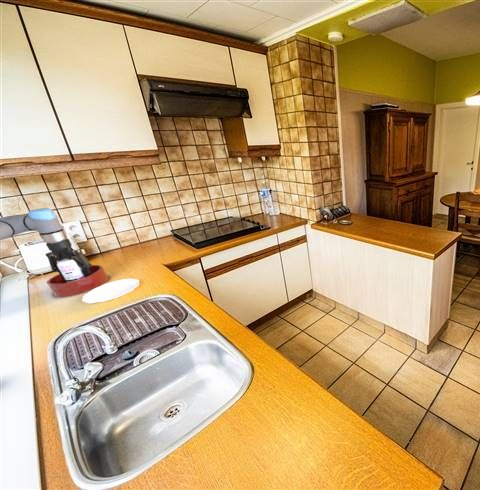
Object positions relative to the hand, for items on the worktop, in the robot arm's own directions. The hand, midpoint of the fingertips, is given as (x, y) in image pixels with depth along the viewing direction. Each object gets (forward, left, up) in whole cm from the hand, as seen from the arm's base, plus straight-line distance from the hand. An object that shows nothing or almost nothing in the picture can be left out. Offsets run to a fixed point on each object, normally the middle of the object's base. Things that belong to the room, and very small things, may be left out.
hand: (80, 281), depth 135 cm
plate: (+22, -11, -3) cm, 25 cm away
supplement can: (0, 0, -2) cm, 2 cm away
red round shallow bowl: (0, 0, -3) cm, 3 cm away
